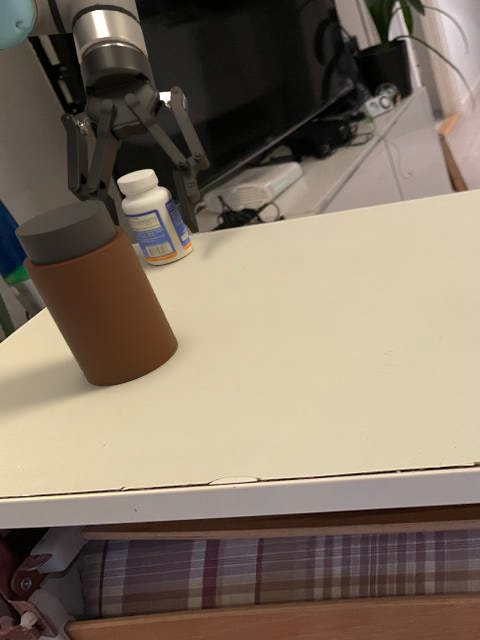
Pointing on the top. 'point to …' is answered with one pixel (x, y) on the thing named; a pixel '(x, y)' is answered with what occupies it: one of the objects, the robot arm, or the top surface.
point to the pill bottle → (154, 218)
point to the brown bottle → (96, 292)
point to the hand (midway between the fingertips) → (154, 237)
